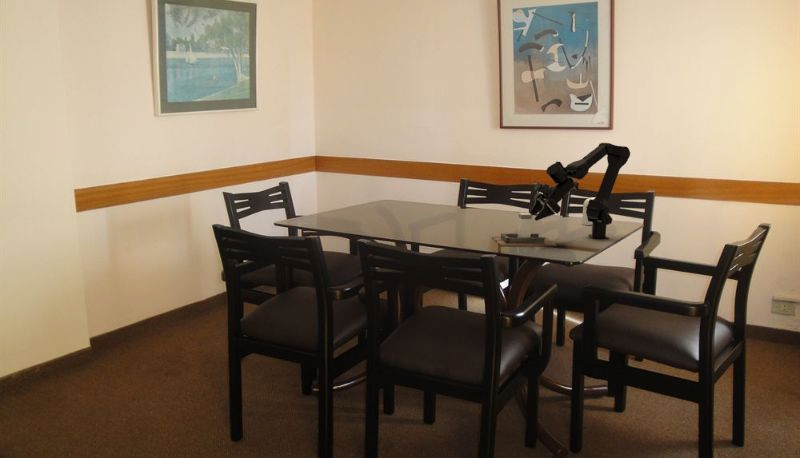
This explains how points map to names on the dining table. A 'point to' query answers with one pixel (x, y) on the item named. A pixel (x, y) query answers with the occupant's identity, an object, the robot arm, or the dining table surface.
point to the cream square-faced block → (524, 225)
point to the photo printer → (584, 218)
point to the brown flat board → (523, 240)
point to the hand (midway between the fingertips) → (532, 217)
